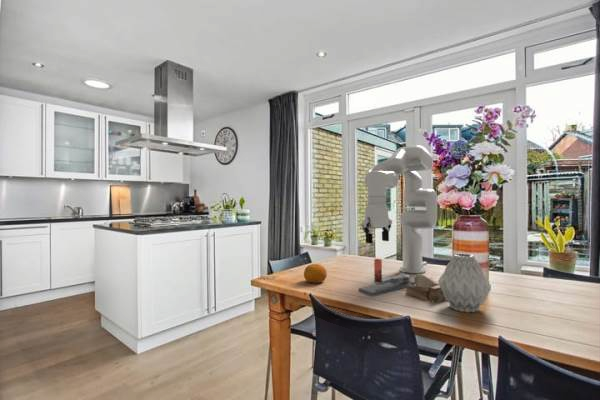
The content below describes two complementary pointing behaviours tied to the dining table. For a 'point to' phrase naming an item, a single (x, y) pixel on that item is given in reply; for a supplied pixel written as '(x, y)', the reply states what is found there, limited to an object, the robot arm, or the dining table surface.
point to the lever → (379, 280)
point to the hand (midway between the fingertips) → (377, 241)
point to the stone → (423, 281)
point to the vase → (464, 283)
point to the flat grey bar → (385, 287)
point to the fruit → (315, 273)
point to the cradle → (426, 292)
